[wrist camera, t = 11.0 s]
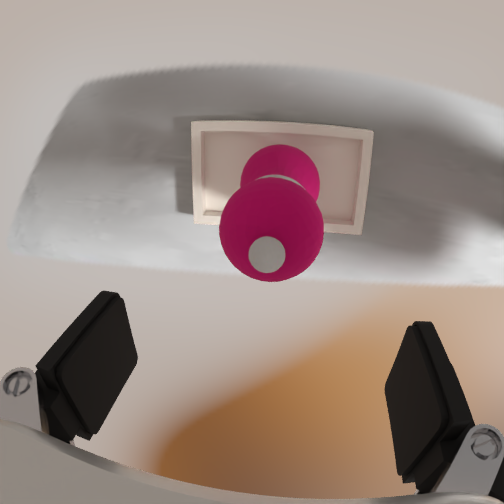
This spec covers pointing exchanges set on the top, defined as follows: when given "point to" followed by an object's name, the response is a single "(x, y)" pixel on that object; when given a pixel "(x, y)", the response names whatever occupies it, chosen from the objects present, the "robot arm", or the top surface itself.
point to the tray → (286, 133)
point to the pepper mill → (274, 215)
